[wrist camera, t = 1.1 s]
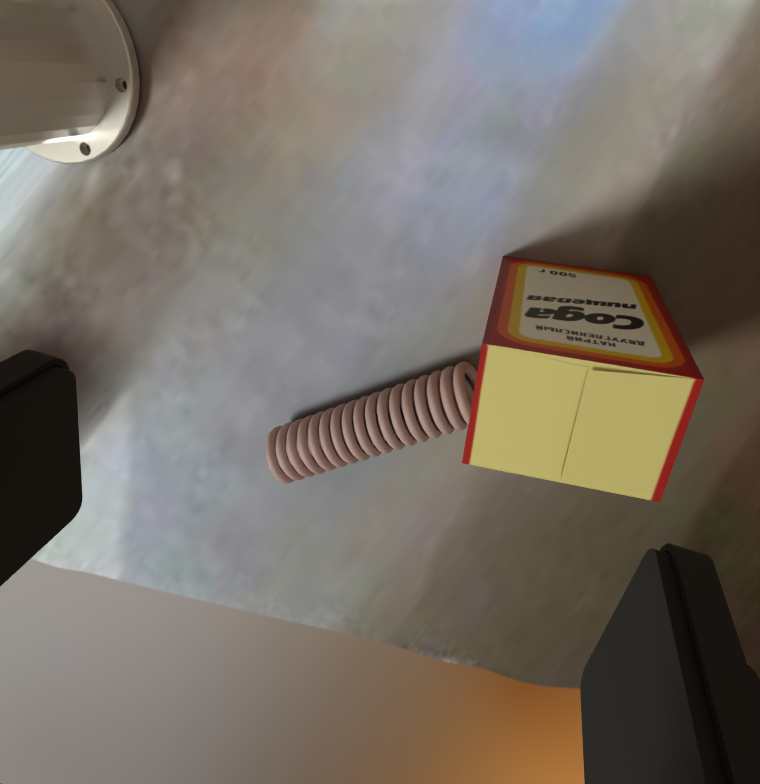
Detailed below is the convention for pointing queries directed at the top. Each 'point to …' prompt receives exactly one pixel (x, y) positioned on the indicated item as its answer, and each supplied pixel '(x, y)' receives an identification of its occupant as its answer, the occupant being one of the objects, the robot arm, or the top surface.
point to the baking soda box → (581, 380)
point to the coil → (373, 424)
